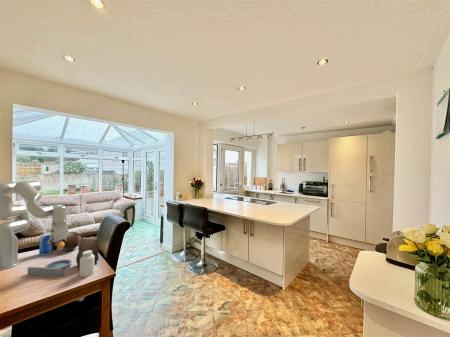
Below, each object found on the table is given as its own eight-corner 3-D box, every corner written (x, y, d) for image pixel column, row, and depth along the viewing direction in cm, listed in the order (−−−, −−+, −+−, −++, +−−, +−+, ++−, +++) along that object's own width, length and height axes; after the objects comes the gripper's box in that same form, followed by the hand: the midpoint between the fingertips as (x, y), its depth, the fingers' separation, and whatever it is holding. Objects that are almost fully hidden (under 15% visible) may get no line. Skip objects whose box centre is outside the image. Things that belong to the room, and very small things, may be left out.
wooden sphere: (53, 252, 155) (53, 234, 155) (70, 245, 169) (70, 229, 170) (69, 254, 153) (69, 236, 153) (85, 246, 168) (85, 230, 168)
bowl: (38, 272, 125) (38, 269, 125) (58, 262, 139) (58, 259, 140) (57, 274, 124) (57, 270, 124) (76, 263, 139) (76, 260, 139)
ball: (58, 251, 129) (59, 243, 129) (50, 251, 129) (50, 242, 129) (66, 248, 135) (66, 239, 135) (59, 247, 135) (59, 239, 135)
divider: (27, 274, 123) (27, 267, 123) (29, 273, 124) (29, 266, 124) (61, 276, 122) (61, 269, 122) (62, 275, 123) (62, 268, 123)
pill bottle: (77, 278, 120) (78, 255, 120) (81, 272, 127) (82, 250, 127) (92, 275, 123) (93, 253, 123) (95, 269, 130) (96, 248, 131)
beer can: (44, 256, 148) (45, 236, 148) (36, 255, 150) (36, 235, 150) (56, 252, 156) (56, 233, 156) (48, 250, 158) (48, 232, 158)
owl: (75, 265, 136) (76, 237, 136) (95, 259, 146) (96, 233, 146) (79, 271, 128) (80, 242, 128) (100, 264, 137) (101, 237, 137)
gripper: (52, 227, 123) (51, 254, 123) (74, 220, 140) (74, 244, 140) (41, 227, 124) (41, 254, 124) (65, 220, 141) (65, 243, 141)
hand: (58, 248), depth 132 cm, fingers closed on ball, 5 cm apart
